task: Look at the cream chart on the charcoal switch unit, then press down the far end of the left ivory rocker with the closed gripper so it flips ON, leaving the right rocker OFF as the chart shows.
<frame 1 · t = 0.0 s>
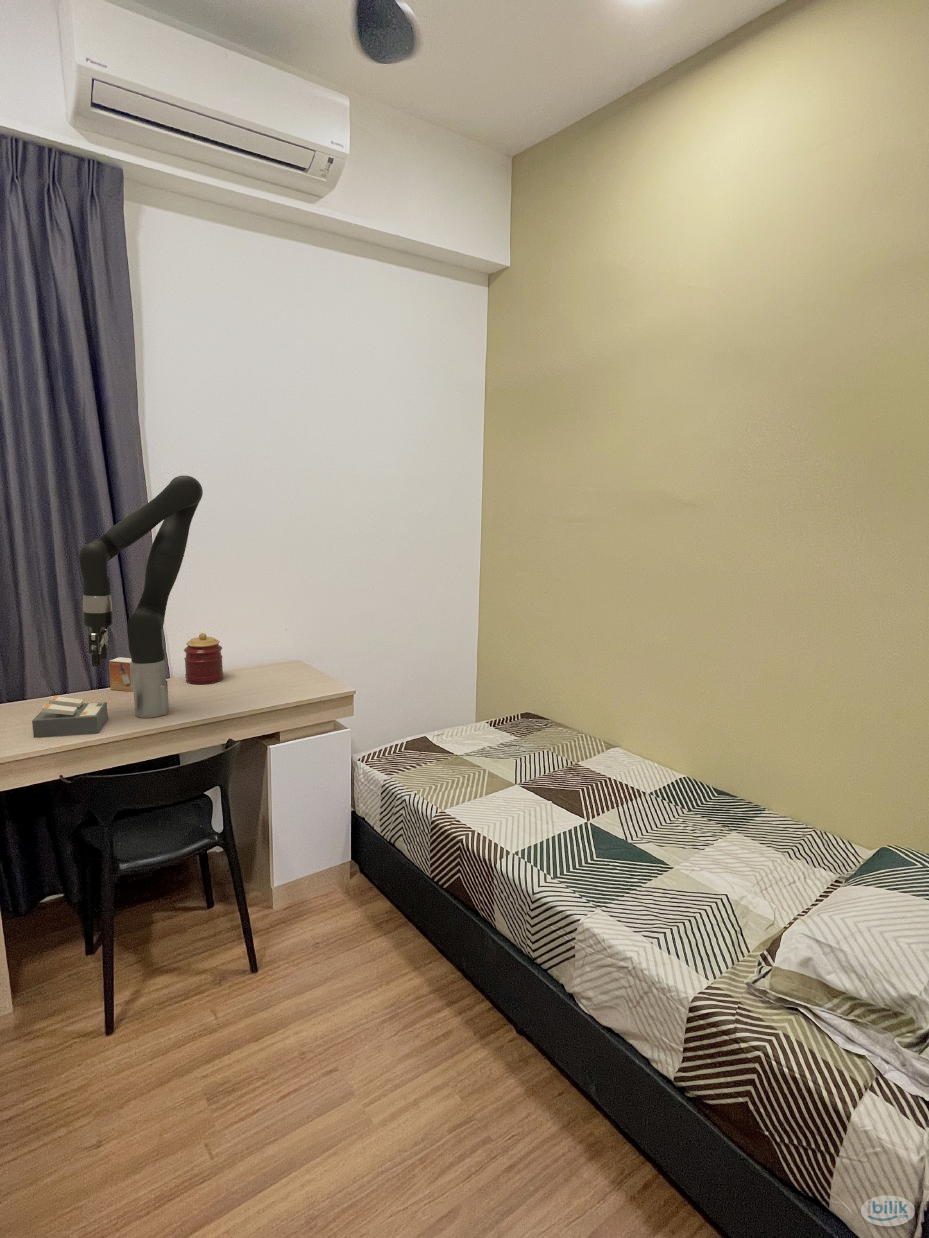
hand: (99, 662, 195), 17 cm above the table, tool pointing down, fingers open, 8 cm apart
canister: (204, 680, 239), on the table
rocker right: (66, 701, 191), point 7 cm above the table, hinge at -12.0°
switch unit: (72, 727, 189), on the table
small box: (126, 689, 225), on the table
rocker left: (59, 709, 184), point 7 cm above the table, hinge at -12.0°
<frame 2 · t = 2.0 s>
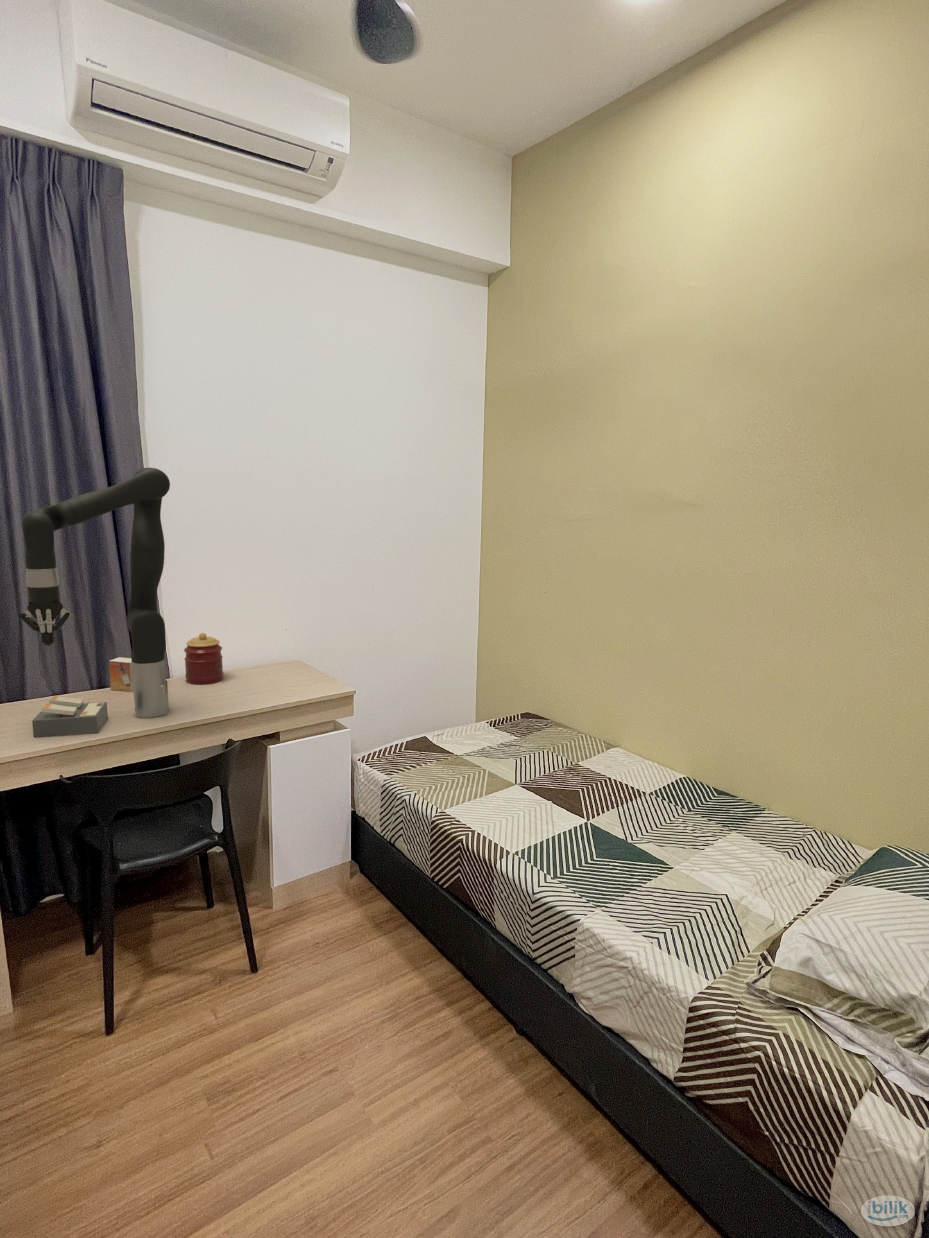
hand: (48, 644, 183), 25 cm above the table, tool pointing down, fingers closed
nothing on the table moved.
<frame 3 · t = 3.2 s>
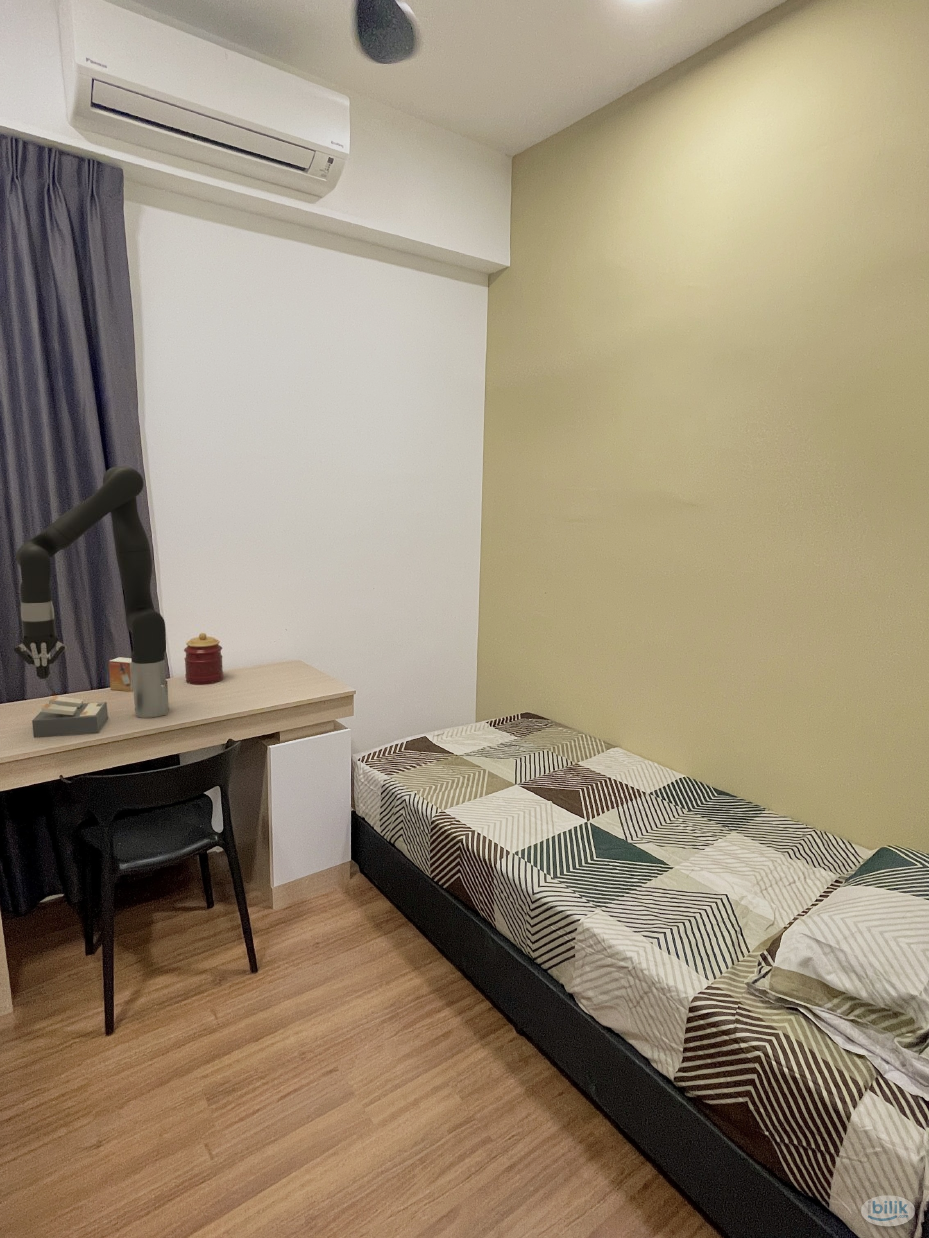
hand: (43, 678, 181), 16 cm above the table, tool pointing down, fingers closed
nothing on the table moved.
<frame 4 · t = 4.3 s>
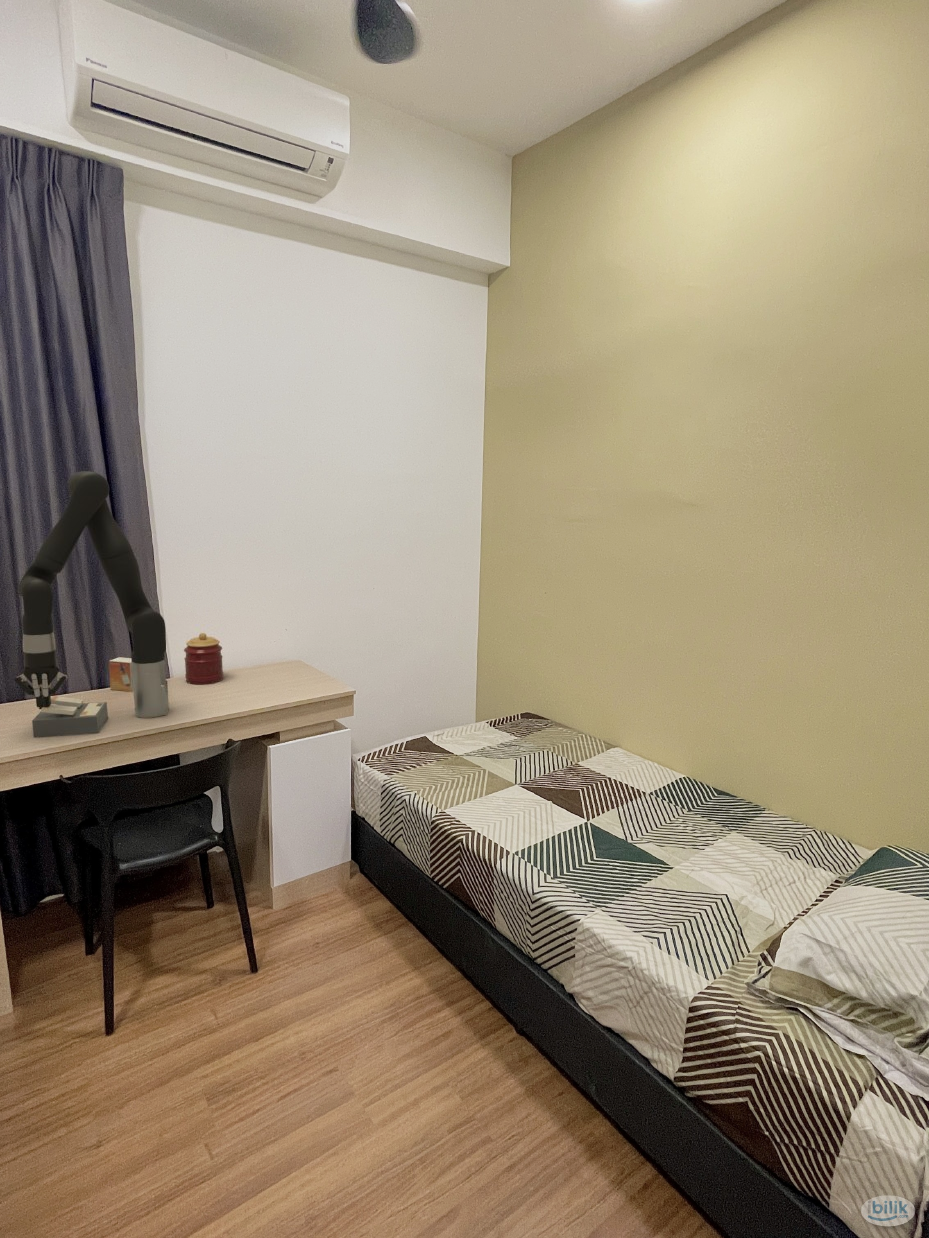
hand: (43, 708, 183), 7 cm above the table, tool pointing down, fingers closed
rocker left: (59, 709, 184), point 7 cm above the table, hinge at -10.9°, touching gripper
everything else where it was.
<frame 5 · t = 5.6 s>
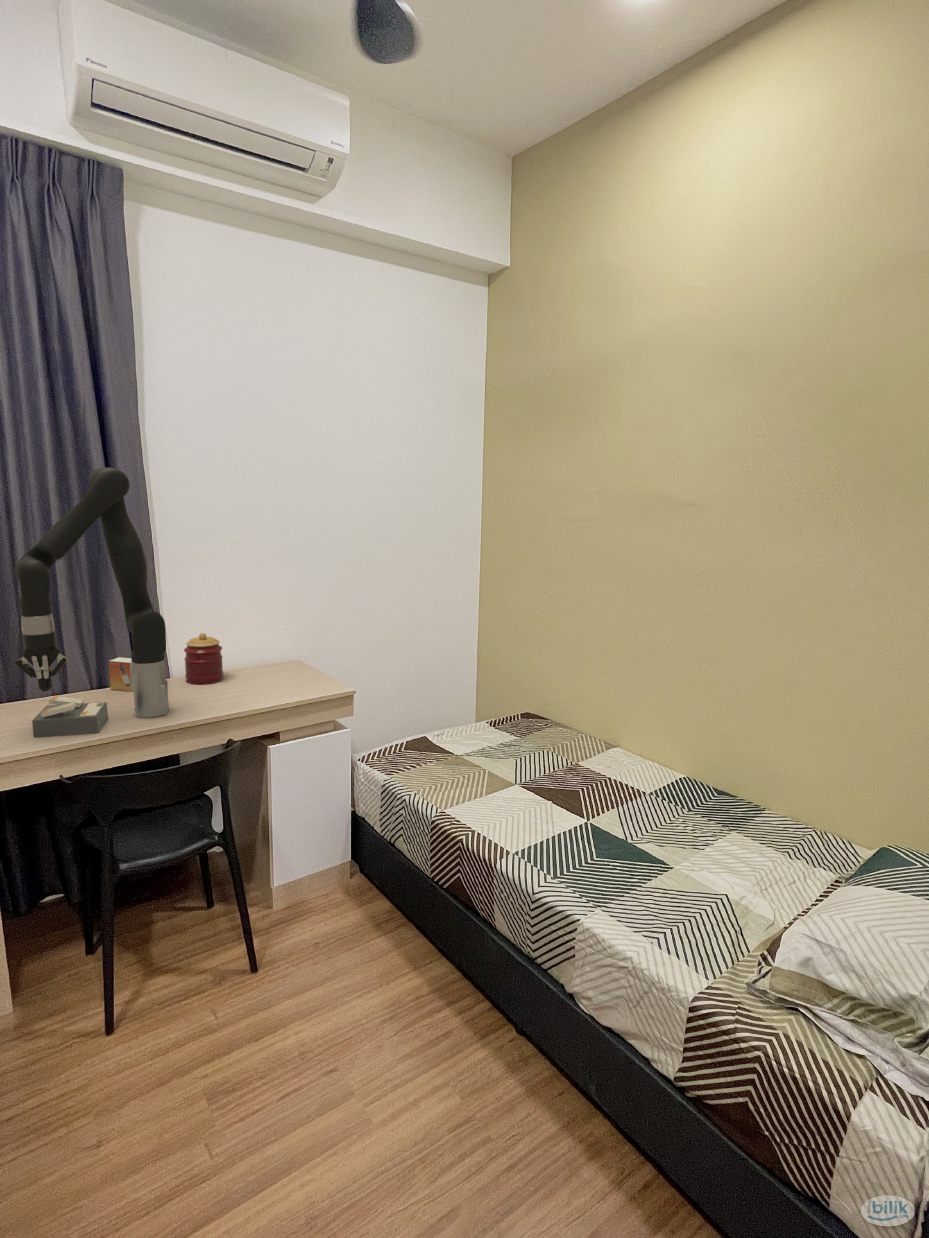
hand: (45, 690, 182), 13 cm above the table, tool pointing down, fingers closed
rocker left: (58, 709, 184), point 7 cm above the table, hinge at 12.6°
everything else where it was.
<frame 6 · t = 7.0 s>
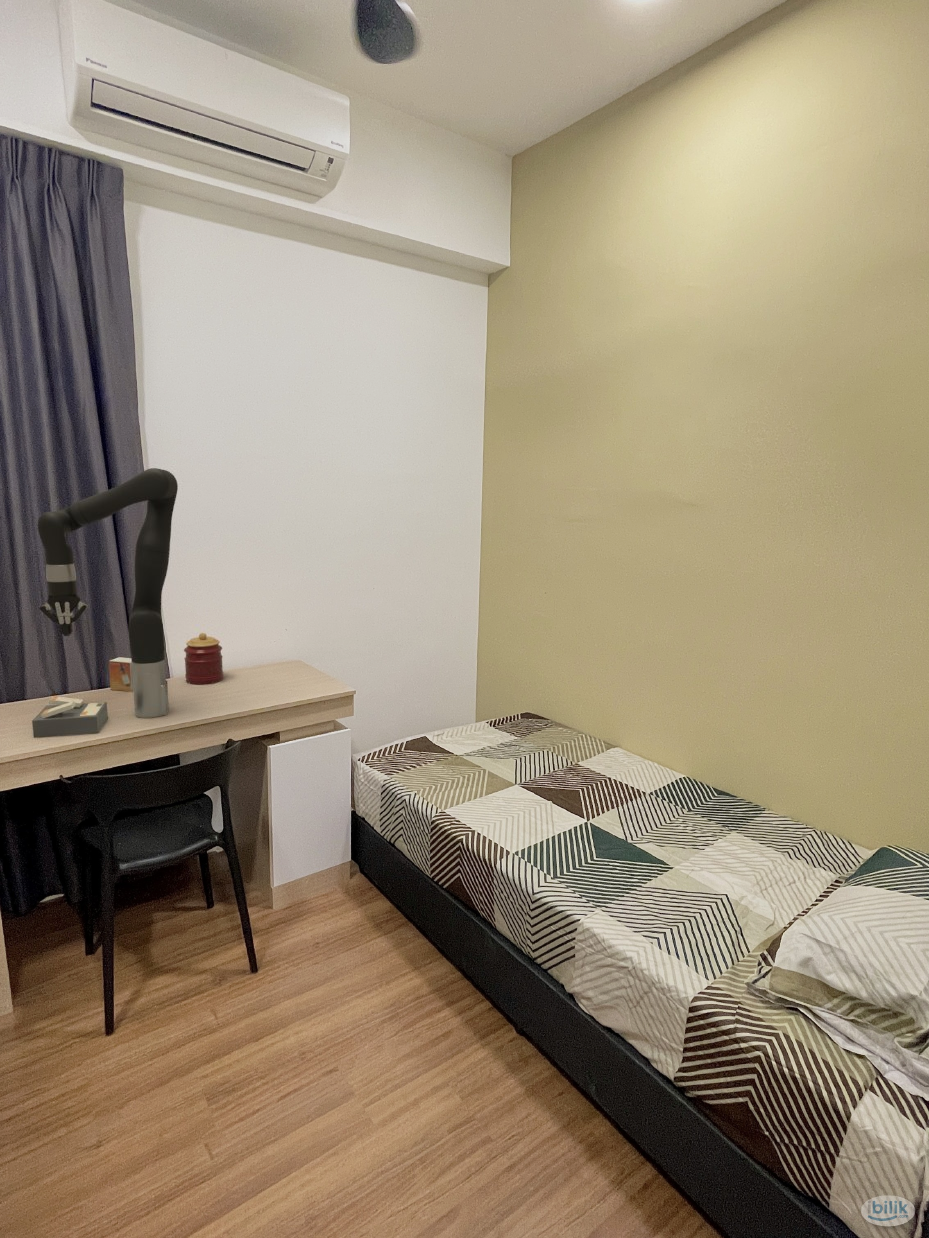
hand: (67, 635, 197), 24 cm above the table, tool pointing down, fingers closed
rocker left: (58, 709, 184), point 7 cm above the table, hinge at 18.0°, touching switch unit
everything else where it was.
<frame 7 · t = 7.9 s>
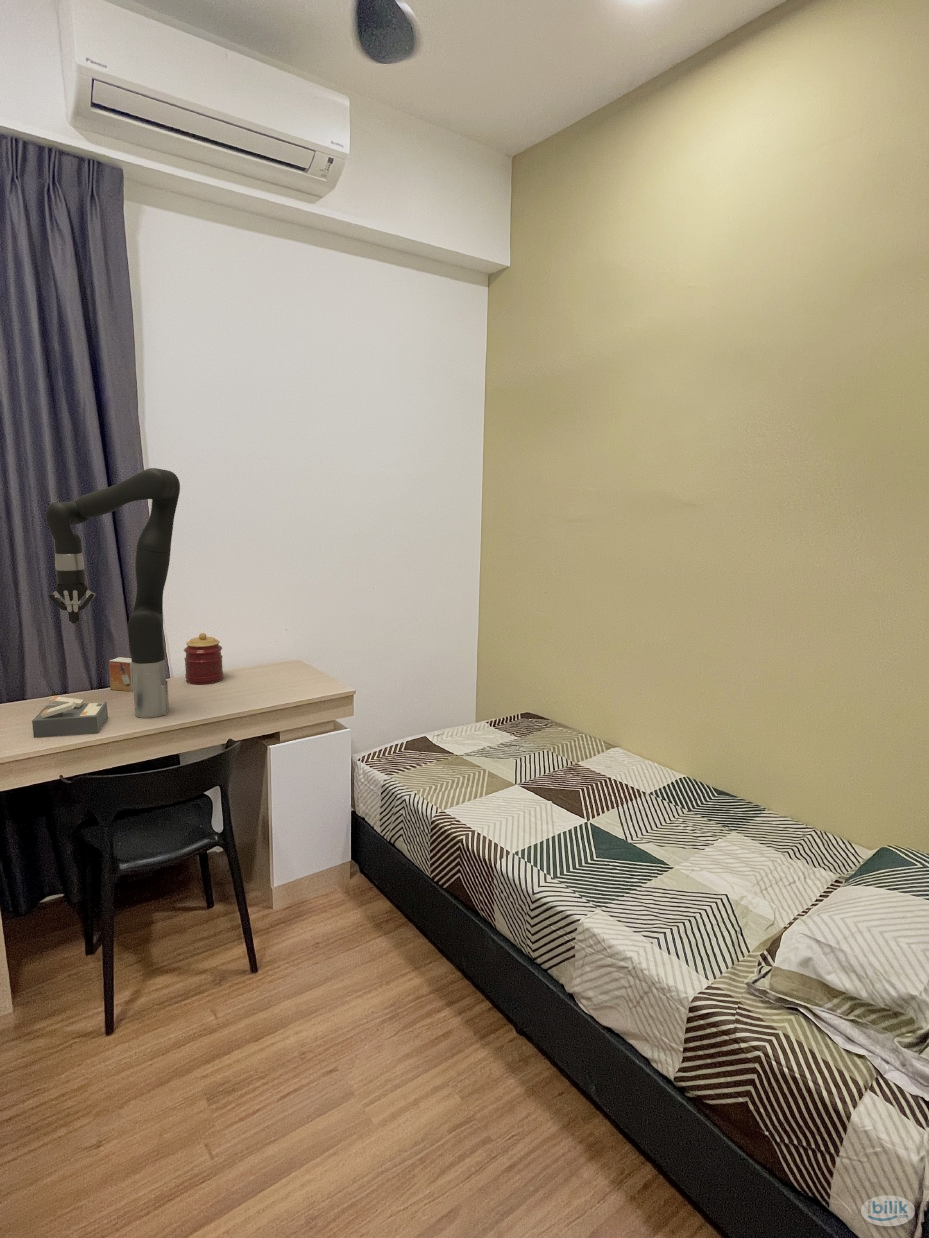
hand: (74, 623, 202), 27 cm above the table, tool pointing down, fingers closed
rocker left: (58, 709, 184), point 7 cm above the table, hinge at 16.3°
everything else where it was.
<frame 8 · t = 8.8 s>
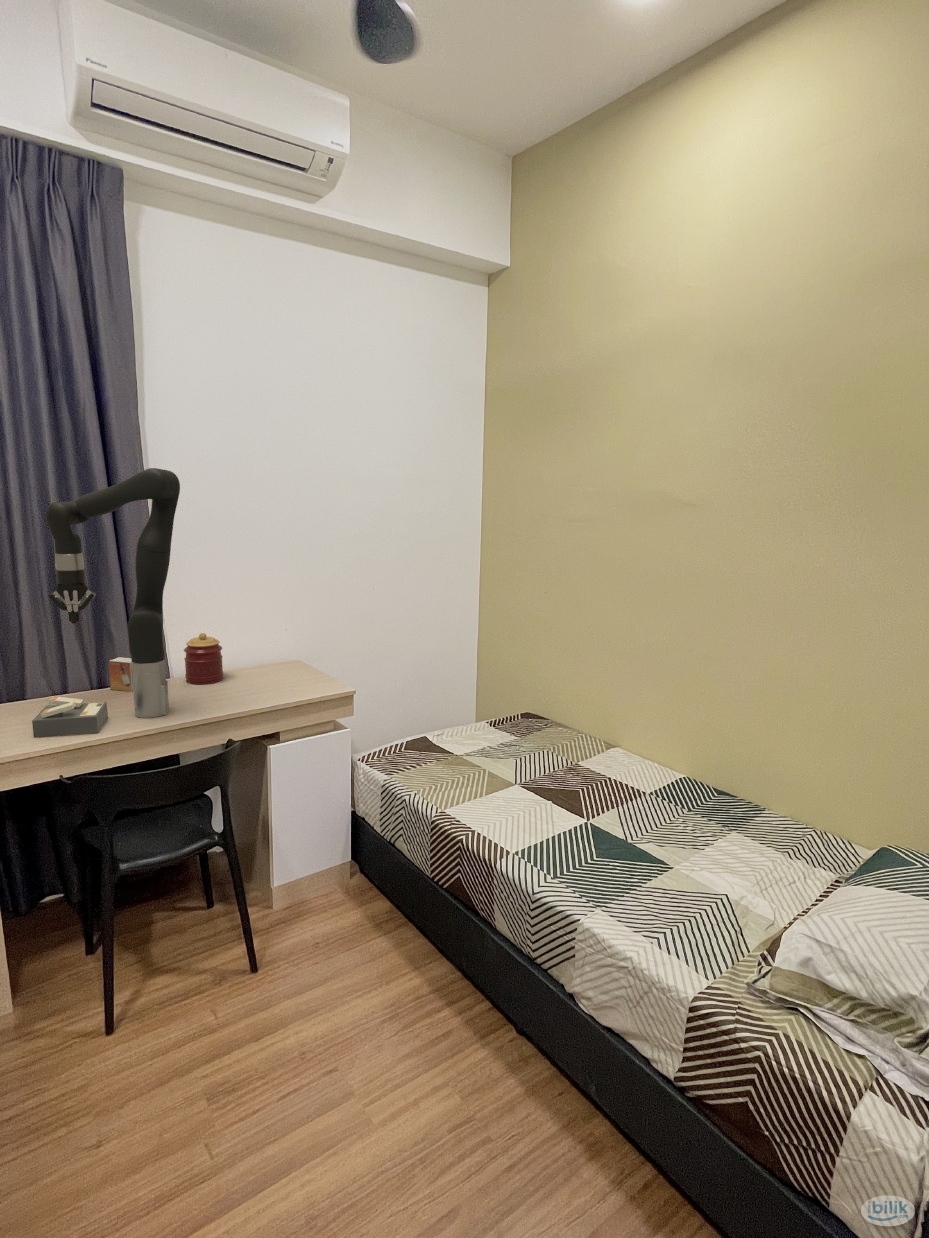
hand: (74, 623, 202), 27 cm above the table, tool pointing down, fingers closed
rocker left: (58, 709, 184), point 7 cm above the table, hinge at 15.3°
everything else where it was.
at the end: rocker left at +15° (first picture: -12°); rocker right at -12° (first picture: -12°) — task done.
